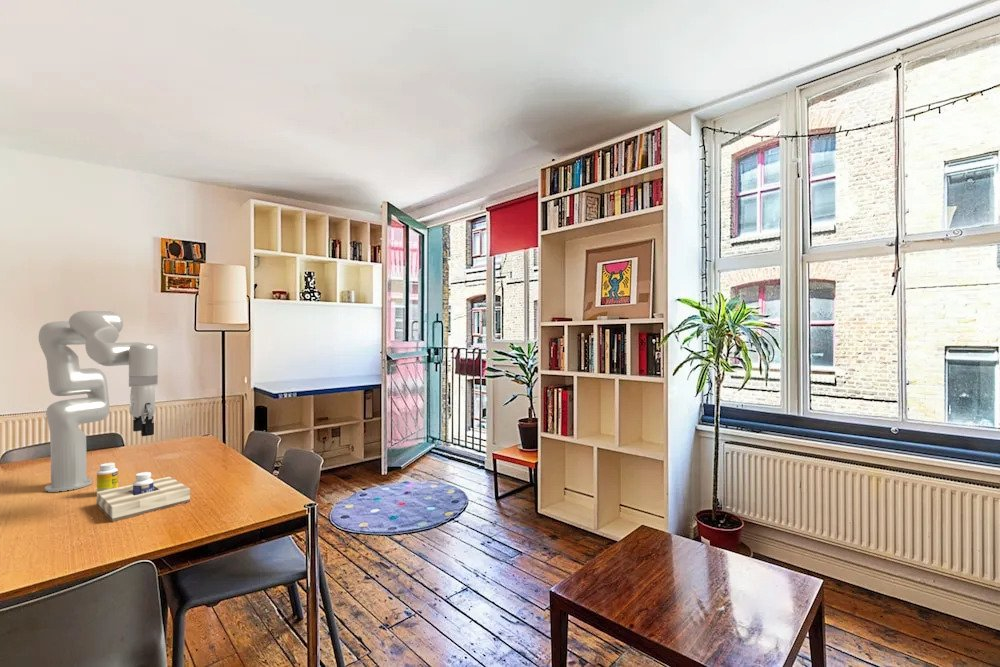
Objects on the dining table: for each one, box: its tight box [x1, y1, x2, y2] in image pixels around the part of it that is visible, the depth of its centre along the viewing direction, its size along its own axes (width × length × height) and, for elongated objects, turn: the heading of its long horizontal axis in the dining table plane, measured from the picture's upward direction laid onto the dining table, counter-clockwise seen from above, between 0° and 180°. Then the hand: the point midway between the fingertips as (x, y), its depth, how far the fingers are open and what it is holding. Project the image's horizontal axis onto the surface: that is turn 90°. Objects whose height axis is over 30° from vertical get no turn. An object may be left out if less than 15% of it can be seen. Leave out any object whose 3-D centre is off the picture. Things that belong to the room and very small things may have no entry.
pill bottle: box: [132, 471, 154, 495], centre depth 150 cm, size 5×5×9 cm
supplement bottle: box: [96, 462, 119, 493], centre depth 160 cm, size 6×6×10 cm
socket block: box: [96, 476, 191, 523], centre depth 150 cm, size 20×20×4 cm
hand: (143, 433), depth 151 cm, fingers open, 9 cm apart
